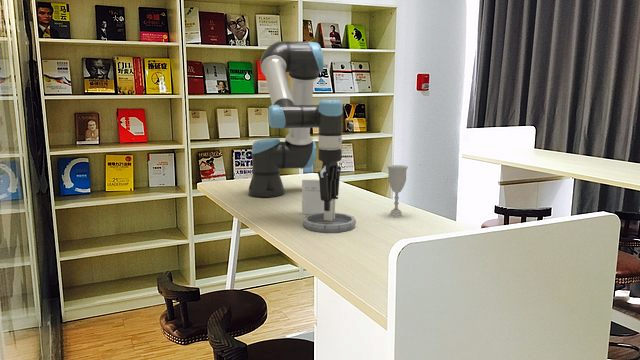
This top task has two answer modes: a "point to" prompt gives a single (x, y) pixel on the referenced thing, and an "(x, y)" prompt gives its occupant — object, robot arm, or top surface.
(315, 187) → the external hard drive
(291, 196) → the top surface
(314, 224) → the dish
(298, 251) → the top surface
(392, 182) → the chalice
